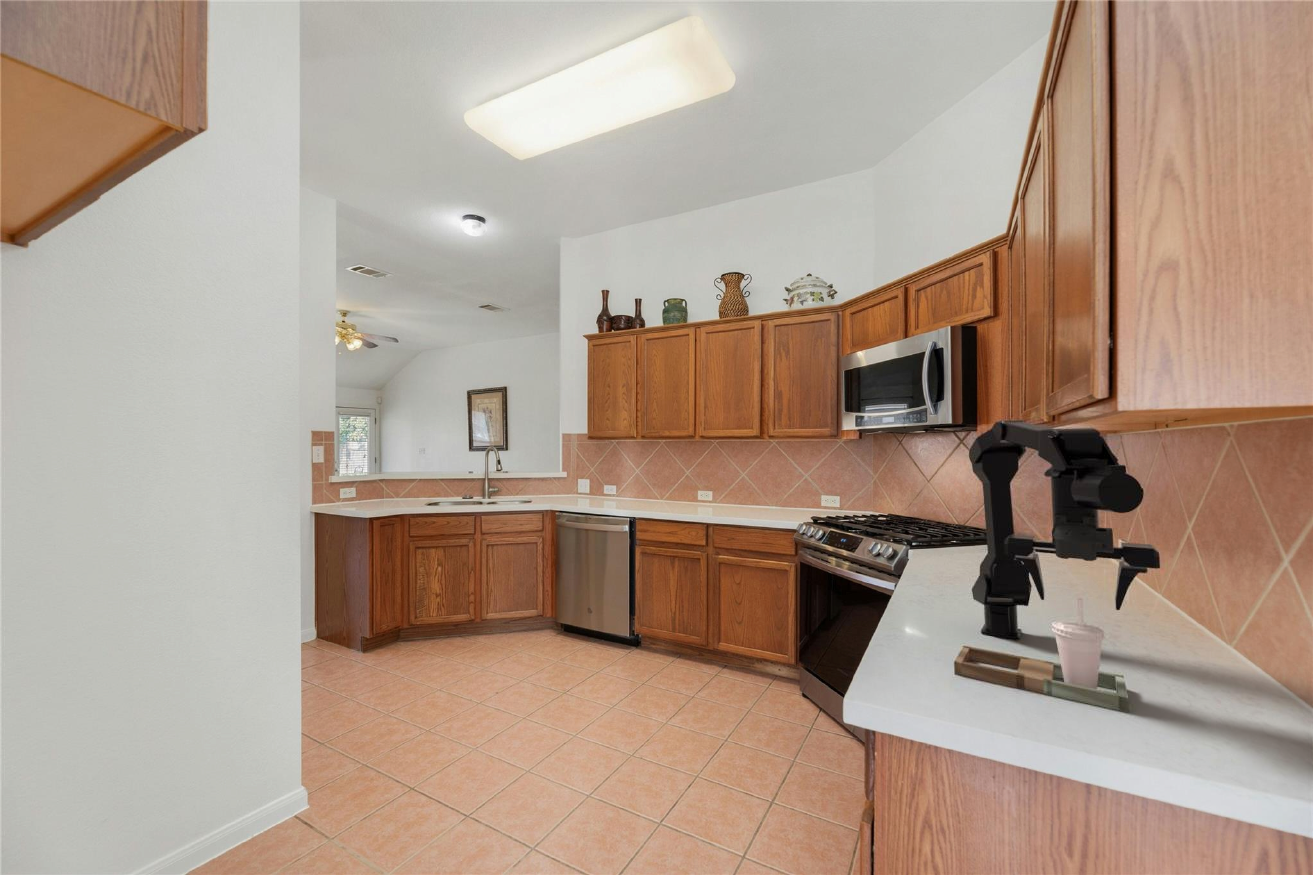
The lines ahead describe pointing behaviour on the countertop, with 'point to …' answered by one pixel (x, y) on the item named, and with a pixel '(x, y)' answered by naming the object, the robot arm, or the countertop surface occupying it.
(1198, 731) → the countertop surface
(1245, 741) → the countertop surface
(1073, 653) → the smoothie
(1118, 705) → the caddy
